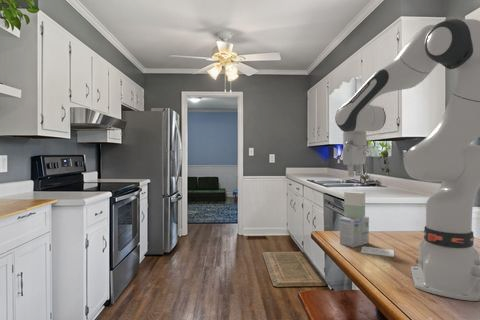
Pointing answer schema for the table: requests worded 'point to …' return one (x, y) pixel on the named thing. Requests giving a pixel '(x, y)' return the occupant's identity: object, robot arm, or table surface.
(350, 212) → the brick
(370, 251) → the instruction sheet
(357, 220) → the light bulb box
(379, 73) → the robot arm
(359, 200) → the brick
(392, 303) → the table surface
